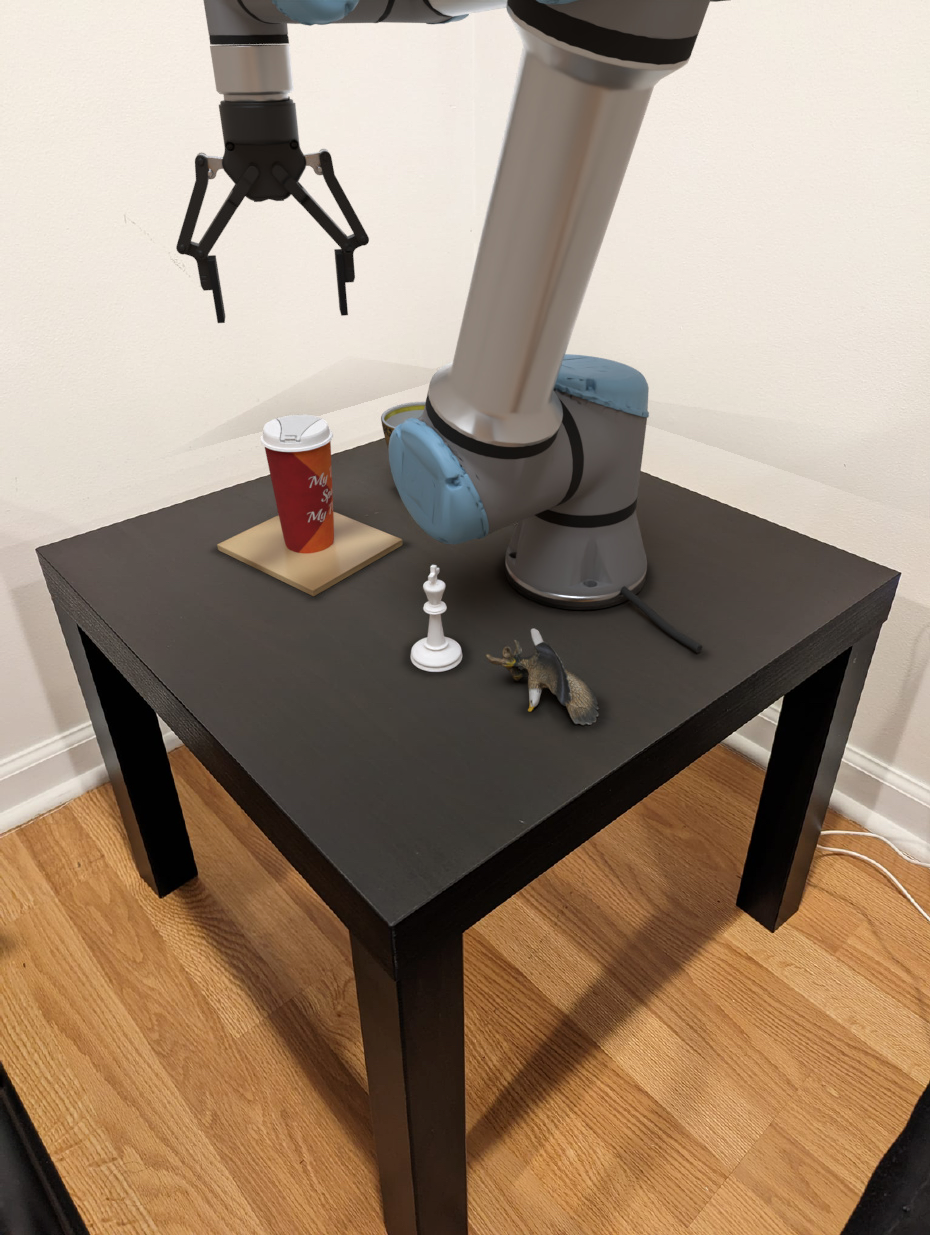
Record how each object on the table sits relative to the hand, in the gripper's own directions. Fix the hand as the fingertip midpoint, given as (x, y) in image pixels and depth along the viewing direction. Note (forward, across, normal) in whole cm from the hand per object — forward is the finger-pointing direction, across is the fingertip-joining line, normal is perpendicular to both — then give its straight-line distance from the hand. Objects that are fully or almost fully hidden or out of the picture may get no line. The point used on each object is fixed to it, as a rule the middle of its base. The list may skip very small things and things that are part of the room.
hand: (283, 316), depth 98 cm
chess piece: (+23, -11, +37) cm, 45 cm away
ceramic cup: (+23, -16, 0) cm, 28 cm away
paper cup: (+22, 0, +13) cm, 26 cm away
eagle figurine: (+23, -19, +45) cm, 54 cm away
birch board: (+23, 0, +13) cm, 26 cm away
